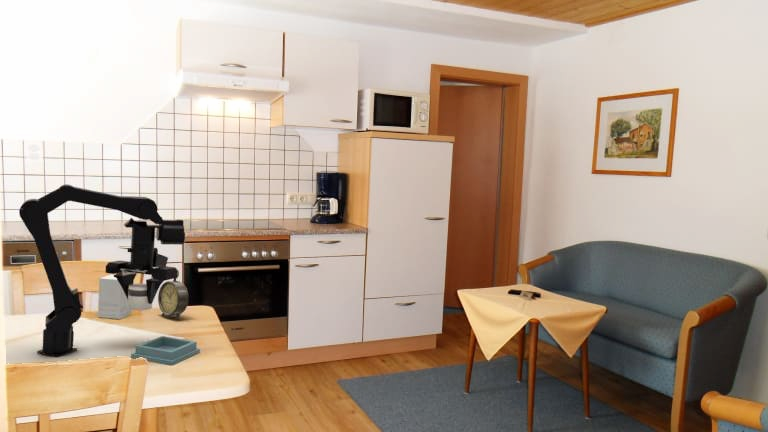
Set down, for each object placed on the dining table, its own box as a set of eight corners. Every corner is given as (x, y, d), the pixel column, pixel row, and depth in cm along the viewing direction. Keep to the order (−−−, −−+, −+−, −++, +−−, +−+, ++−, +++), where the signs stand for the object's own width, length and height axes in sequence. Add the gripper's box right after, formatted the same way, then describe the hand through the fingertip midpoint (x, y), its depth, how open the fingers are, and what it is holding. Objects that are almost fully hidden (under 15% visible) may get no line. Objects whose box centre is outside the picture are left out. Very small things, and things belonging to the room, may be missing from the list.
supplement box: (131, 314, 188) (133, 276, 188) (119, 319, 181) (121, 279, 180) (110, 312, 189) (111, 274, 188) (96, 317, 182) (98, 277, 181)
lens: (142, 311, 152) (143, 288, 151) (122, 308, 153) (123, 286, 153) (157, 306, 158) (158, 285, 157) (137, 304, 159) (138, 282, 159)
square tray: (171, 365, 143) (172, 353, 143) (130, 357, 147) (131, 346, 146) (199, 352, 155) (200, 341, 155) (161, 345, 158) (162, 335, 158)
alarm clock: (156, 315, 189) (158, 266, 188) (170, 313, 194) (173, 265, 193) (175, 322, 183) (178, 271, 182) (190, 319, 187) (193, 270, 186)
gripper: (191, 245, 160) (188, 300, 161) (133, 238, 165) (131, 292, 166) (165, 249, 149) (162, 308, 150) (105, 241, 154) (102, 299, 155)
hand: (140, 302), depth 155 cm, fingers closed on lens, 6 cm apart
